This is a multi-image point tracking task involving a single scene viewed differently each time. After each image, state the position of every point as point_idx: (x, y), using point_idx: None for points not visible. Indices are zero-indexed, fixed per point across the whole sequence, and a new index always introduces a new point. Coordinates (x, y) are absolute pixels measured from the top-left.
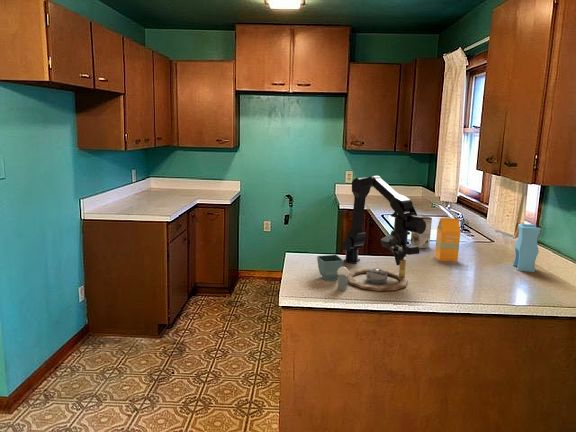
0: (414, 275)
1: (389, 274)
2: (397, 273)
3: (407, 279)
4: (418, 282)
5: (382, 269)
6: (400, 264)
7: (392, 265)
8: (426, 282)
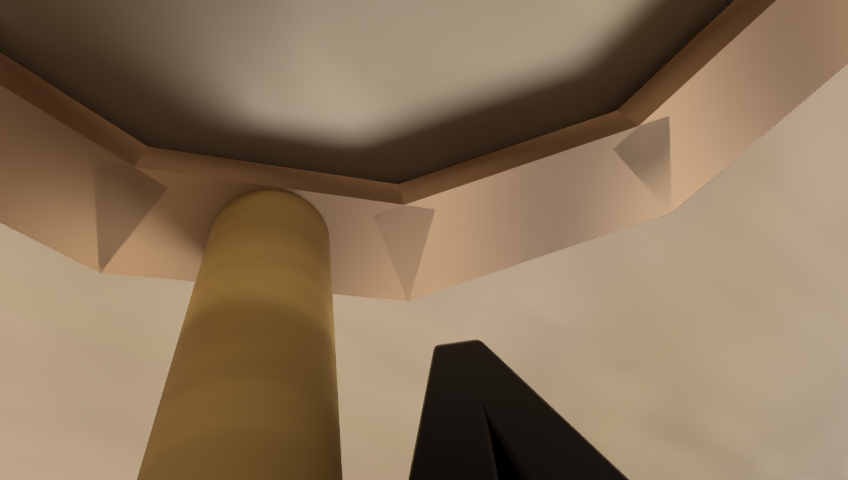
0: (412, 441)
1: (555, 135)
2: (469, 258)
3: (92, 262)
4: (116, 381)
5: (777, 122)
6: (220, 404)
7: (826, 373)
8: (106, 462)
